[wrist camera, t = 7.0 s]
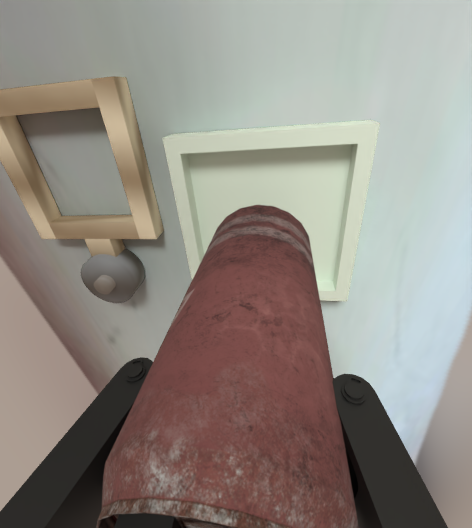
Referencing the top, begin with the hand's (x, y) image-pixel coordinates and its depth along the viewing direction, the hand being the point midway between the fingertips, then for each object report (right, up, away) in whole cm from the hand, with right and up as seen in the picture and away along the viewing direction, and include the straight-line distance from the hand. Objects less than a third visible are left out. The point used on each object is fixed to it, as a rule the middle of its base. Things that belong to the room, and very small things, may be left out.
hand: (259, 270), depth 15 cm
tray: (+1, +4, +6) cm, 7 cm away
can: (0, +1, +2) cm, 3 cm away
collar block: (-13, +5, +8) cm, 16 cm away
